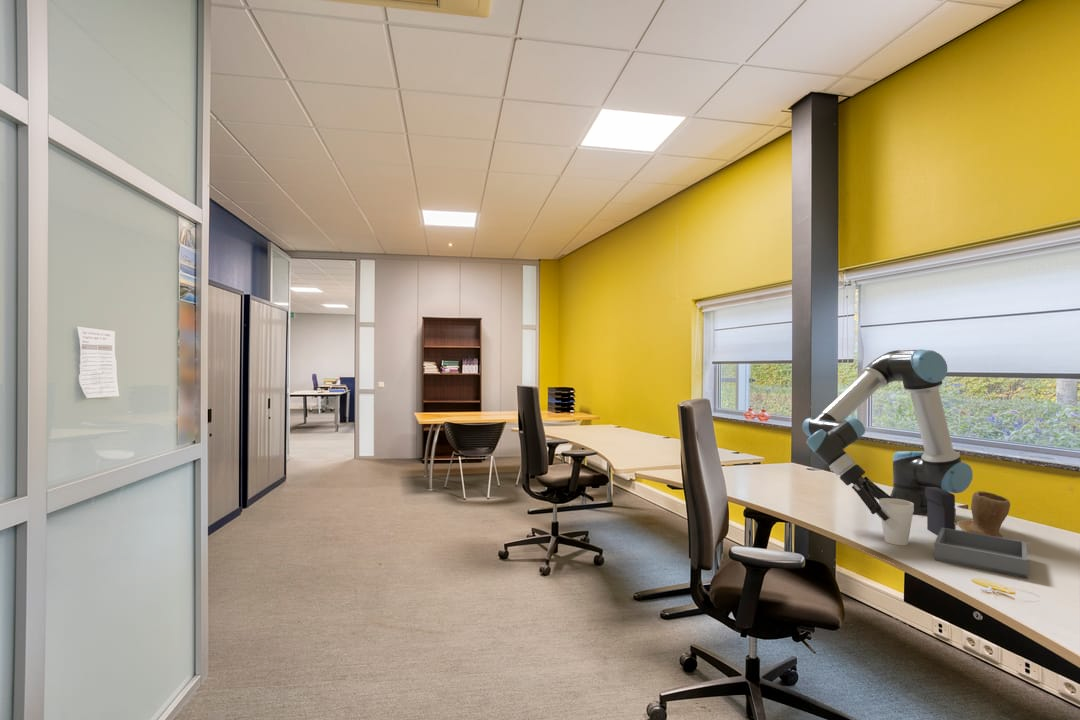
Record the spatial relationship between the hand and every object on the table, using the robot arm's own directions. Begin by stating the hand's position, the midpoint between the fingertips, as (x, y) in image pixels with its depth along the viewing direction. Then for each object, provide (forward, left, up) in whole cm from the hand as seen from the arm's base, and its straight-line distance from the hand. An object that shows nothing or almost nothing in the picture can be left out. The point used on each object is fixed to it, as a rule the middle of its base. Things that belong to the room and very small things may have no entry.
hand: (900, 523), depth 168 cm
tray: (+1, +20, -6) cm, 21 cm away
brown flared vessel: (-26, +20, -7) cm, 34 cm away
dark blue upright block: (-19, +9, -7) cm, 22 cm away
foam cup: (0, -1, -7) cm, 7 cm away
